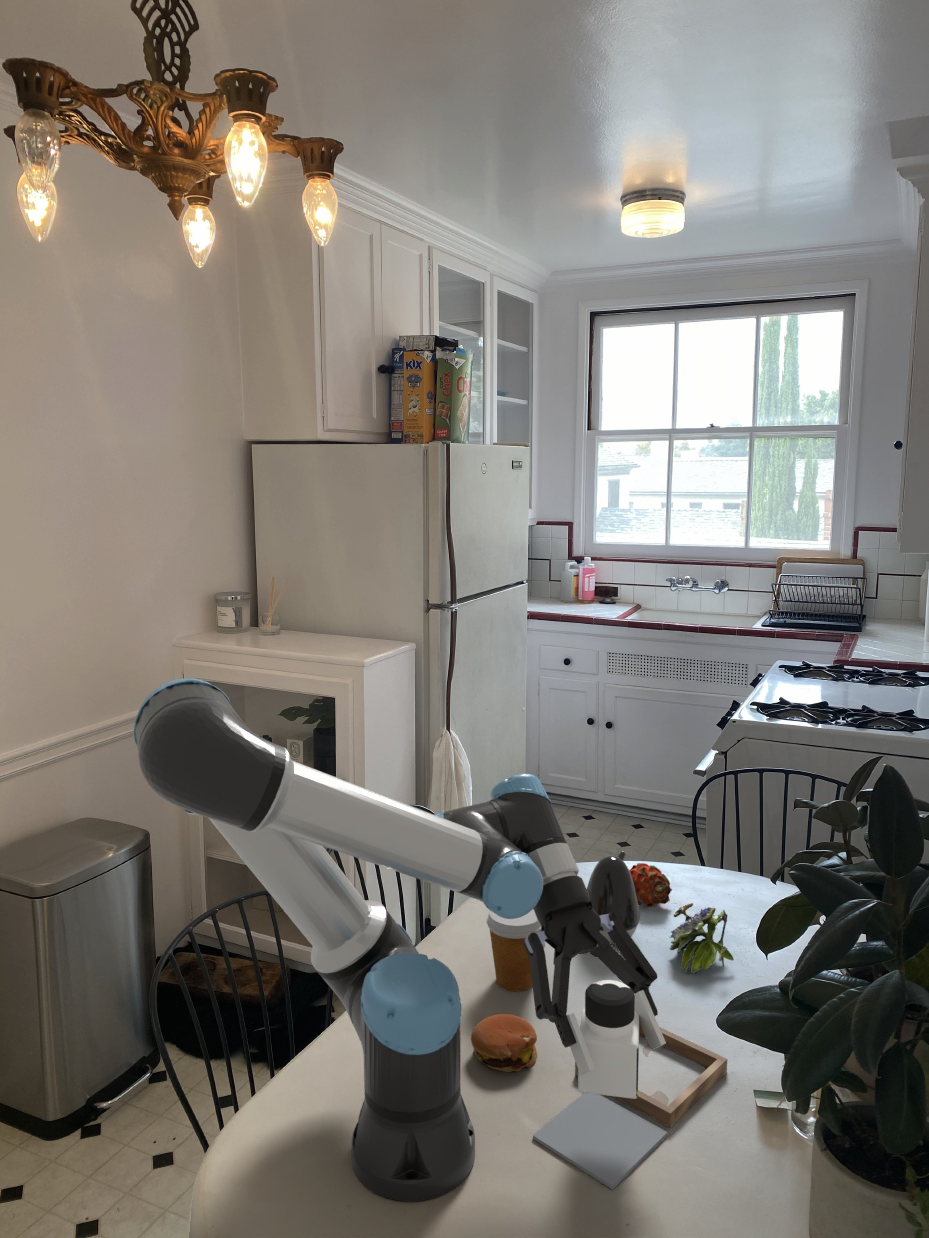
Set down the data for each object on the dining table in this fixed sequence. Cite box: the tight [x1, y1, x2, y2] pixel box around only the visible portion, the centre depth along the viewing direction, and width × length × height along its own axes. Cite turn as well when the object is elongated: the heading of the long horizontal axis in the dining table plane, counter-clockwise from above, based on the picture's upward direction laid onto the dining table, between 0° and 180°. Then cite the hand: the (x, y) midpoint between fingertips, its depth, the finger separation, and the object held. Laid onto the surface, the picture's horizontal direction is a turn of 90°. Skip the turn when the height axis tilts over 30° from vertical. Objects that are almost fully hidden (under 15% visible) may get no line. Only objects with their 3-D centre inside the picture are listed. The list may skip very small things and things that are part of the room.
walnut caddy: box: [574, 1022, 728, 1128], centre depth 126 cm, size 15×15×2 cm
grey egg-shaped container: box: [586, 851, 641, 945], centre depth 162 cm, size 10×10×15 cm
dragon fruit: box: [629, 862, 673, 908], centre depth 176 cm, size 8×8×12 cm
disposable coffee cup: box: [485, 909, 541, 992], centre depth 148 cm, size 10×10×12 cm
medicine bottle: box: [577, 979, 640, 1099], centre depth 112 cm, size 7×7×12 cm
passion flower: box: [668, 902, 734, 974], centre depth 155 cm, size 11×11×12 cm
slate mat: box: [532, 1093, 668, 1190], centre depth 114 cm, size 12×12×1 cm
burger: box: [470, 1013, 538, 1073], centre depth 130 cm, size 10×9×5 cm
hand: (624, 1059), depth 109 cm, fingers closed on medicine bottle, 10 cm apart
